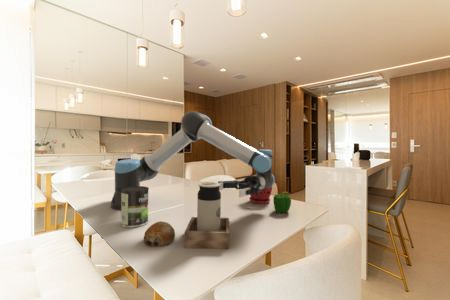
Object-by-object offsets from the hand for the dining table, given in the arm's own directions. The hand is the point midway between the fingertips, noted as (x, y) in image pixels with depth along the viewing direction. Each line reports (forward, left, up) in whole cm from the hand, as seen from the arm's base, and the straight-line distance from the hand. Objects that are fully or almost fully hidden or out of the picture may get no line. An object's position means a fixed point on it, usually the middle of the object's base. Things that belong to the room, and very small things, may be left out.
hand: (225, 190), depth 85 cm
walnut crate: (-5, -9, -15) cm, 18 cm away
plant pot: (+20, +40, -15) cm, 47 cm away
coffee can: (-36, +4, -15) cm, 40 cm away
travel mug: (-5, -9, -14) cm, 18 cm away
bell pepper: (+28, +23, -15) cm, 39 cm away
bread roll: (-22, -12, -15) cm, 29 cm away
